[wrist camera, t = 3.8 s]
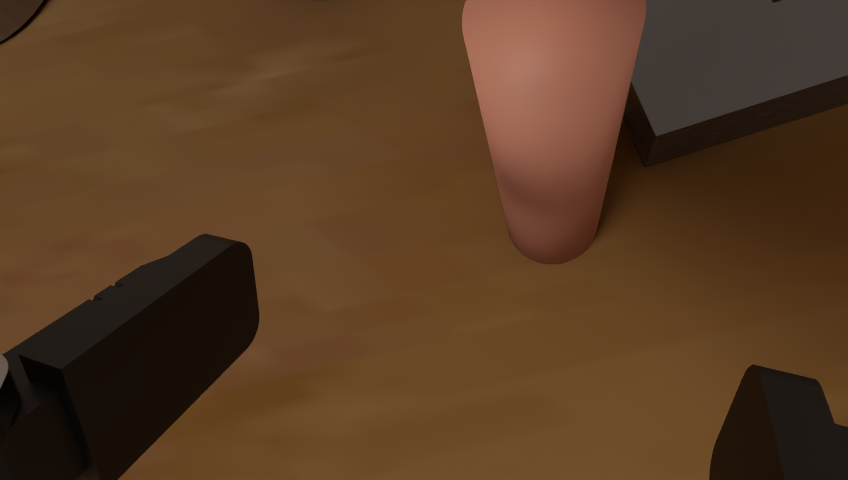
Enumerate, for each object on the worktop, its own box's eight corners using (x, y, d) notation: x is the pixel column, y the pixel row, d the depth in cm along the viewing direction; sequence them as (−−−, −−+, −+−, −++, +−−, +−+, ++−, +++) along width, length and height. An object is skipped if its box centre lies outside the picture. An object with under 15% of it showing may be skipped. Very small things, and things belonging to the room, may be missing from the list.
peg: (522, 275, 22) (489, 115, 10) (496, 196, 23) (443, -24, 12) (610, 248, 21) (675, 52, 10) (580, 170, 22) (607, -85, 11)
